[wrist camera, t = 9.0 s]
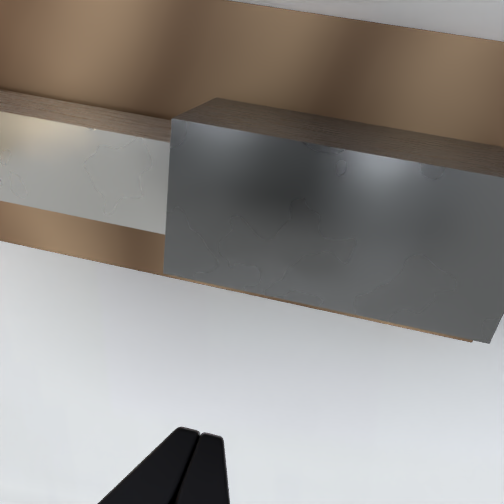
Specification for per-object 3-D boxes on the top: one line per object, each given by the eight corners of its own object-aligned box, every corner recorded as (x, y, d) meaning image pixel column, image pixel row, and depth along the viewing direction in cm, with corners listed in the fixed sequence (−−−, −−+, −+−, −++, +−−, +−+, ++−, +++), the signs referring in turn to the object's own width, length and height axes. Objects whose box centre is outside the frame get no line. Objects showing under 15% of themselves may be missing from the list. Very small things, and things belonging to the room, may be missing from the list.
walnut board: (584, 55, 15) (600, 56, 14) (466, 328, 19) (471, 342, 19) (-166, -58, 17) (-193, -63, 16) (-103, 207, 22) (-122, 214, 21)
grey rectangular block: (500, 146, 15) (562, 188, 11) (453, 268, 17) (489, 343, 13) (216, 97, 16) (171, 118, 12) (204, 219, 18) (163, 273, 14)
